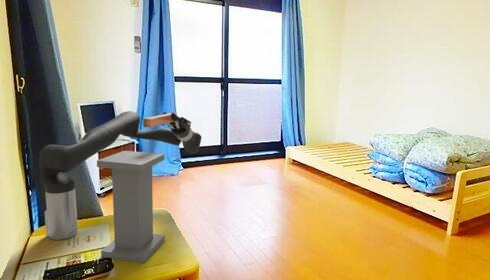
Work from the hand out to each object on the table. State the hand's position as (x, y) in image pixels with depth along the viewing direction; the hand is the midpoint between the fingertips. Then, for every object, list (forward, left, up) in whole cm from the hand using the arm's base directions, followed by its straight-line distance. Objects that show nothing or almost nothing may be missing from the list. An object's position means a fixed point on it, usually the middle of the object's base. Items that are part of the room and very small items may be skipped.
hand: (168, 114), depth 127 cm
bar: (0, -6, -3) cm, 7 cm away
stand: (0, -27, -43) cm, 51 cm away
